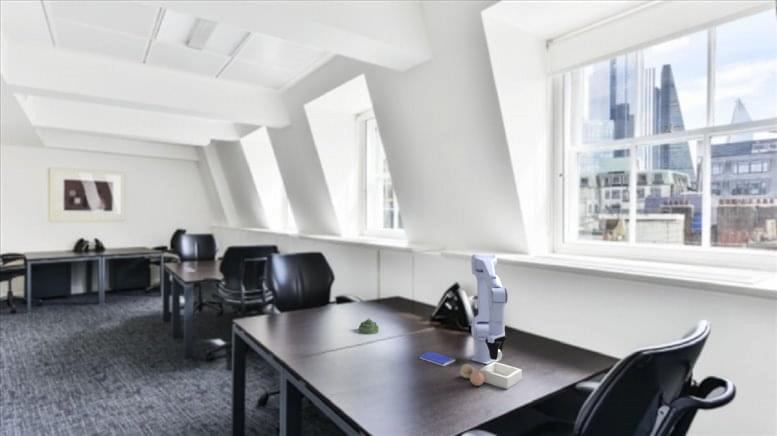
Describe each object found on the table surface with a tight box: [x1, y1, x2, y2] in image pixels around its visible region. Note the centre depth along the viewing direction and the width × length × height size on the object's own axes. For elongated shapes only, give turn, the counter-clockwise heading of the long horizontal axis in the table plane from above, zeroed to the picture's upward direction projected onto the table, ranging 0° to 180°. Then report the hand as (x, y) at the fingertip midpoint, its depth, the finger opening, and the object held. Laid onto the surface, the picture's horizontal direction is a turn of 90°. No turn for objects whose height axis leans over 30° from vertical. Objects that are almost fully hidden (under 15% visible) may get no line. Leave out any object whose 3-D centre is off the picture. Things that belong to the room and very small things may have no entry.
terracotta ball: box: [469, 370, 485, 387], centre depth 148 cm, size 5×5×5 cm
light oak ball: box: [459, 363, 475, 379], centre depth 154 cm, size 5×5×5 cm
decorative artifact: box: [358, 317, 380, 335], centre depth 211 cm, size 10×7×10 cm
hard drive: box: [419, 351, 456, 367], centre depth 173 cm, size 2×8×12 cm
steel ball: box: [488, 349, 503, 363], centre depth 153 cm, size 5×5×5 cm
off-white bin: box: [478, 361, 523, 390], centre depth 153 cm, size 11×11×4 cm
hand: (495, 357), depth 153 cm, fingers closed on steel ball, 5 cm apart
